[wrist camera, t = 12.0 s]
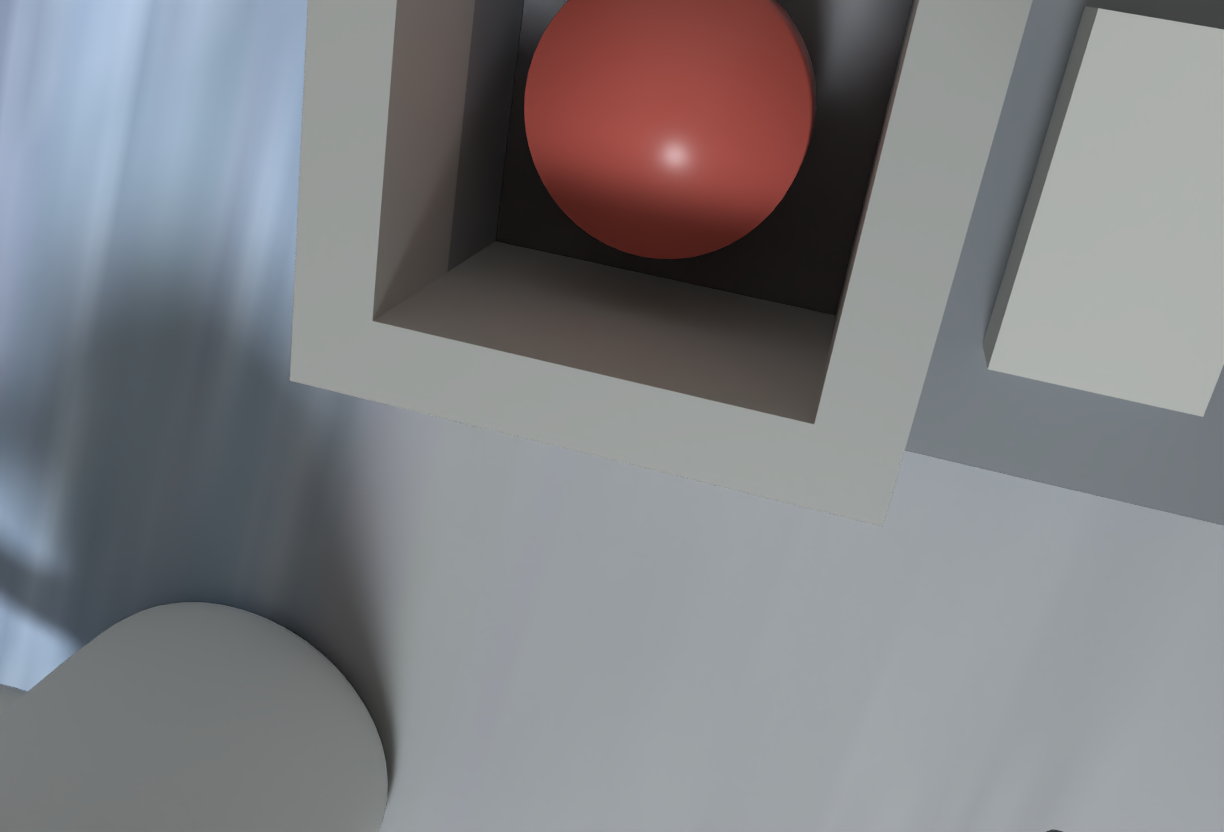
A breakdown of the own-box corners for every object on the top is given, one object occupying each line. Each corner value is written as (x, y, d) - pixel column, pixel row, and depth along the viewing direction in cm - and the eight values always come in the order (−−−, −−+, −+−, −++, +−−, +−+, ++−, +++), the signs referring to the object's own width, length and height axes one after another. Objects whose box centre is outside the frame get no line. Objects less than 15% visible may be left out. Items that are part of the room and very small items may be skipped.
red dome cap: (848, -13, 18) (841, -12, 16) (789, 250, 20) (775, 285, 18) (586, -59, 19) (543, -63, 17) (551, 200, 21) (508, 227, 18)
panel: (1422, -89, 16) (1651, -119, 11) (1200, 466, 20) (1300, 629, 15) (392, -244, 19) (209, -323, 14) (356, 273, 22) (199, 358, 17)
